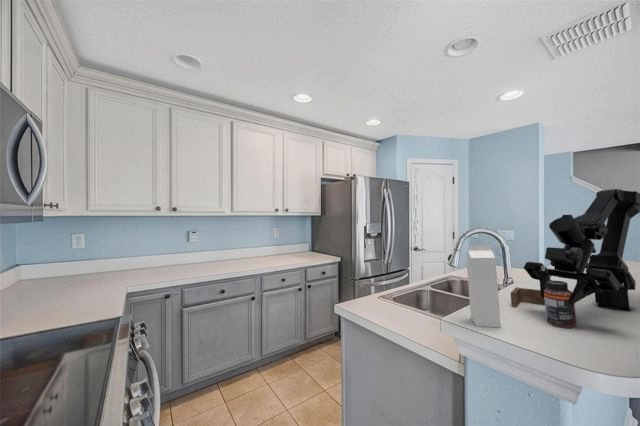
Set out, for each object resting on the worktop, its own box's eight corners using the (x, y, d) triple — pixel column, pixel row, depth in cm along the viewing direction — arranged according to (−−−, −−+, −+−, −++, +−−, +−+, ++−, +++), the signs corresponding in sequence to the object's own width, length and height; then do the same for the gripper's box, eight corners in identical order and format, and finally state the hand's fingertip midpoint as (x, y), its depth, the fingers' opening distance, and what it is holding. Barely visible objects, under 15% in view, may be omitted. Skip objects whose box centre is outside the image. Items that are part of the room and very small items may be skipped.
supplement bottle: (563, 319, 72) (560, 279, 72) (583, 328, 66) (579, 284, 66) (540, 320, 72) (537, 279, 73) (558, 329, 66) (554, 285, 67)
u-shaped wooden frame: (555, 305, 82) (554, 291, 82) (552, 313, 76) (550, 298, 77) (517, 300, 90) (516, 287, 90) (511, 306, 84) (510, 292, 84)
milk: (470, 318, 76) (464, 244, 77) (494, 319, 74) (487, 243, 75) (476, 326, 70) (469, 246, 72) (501, 328, 69) (494, 245, 70)
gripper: (524, 235, 80) (504, 275, 75) (609, 237, 63) (589, 289, 58) (542, 258, 83) (523, 298, 78) (628, 266, 65) (610, 318, 61)
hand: (555, 300), depth 69 cm, fingers closed on supplement bottle, 6 cm apart
